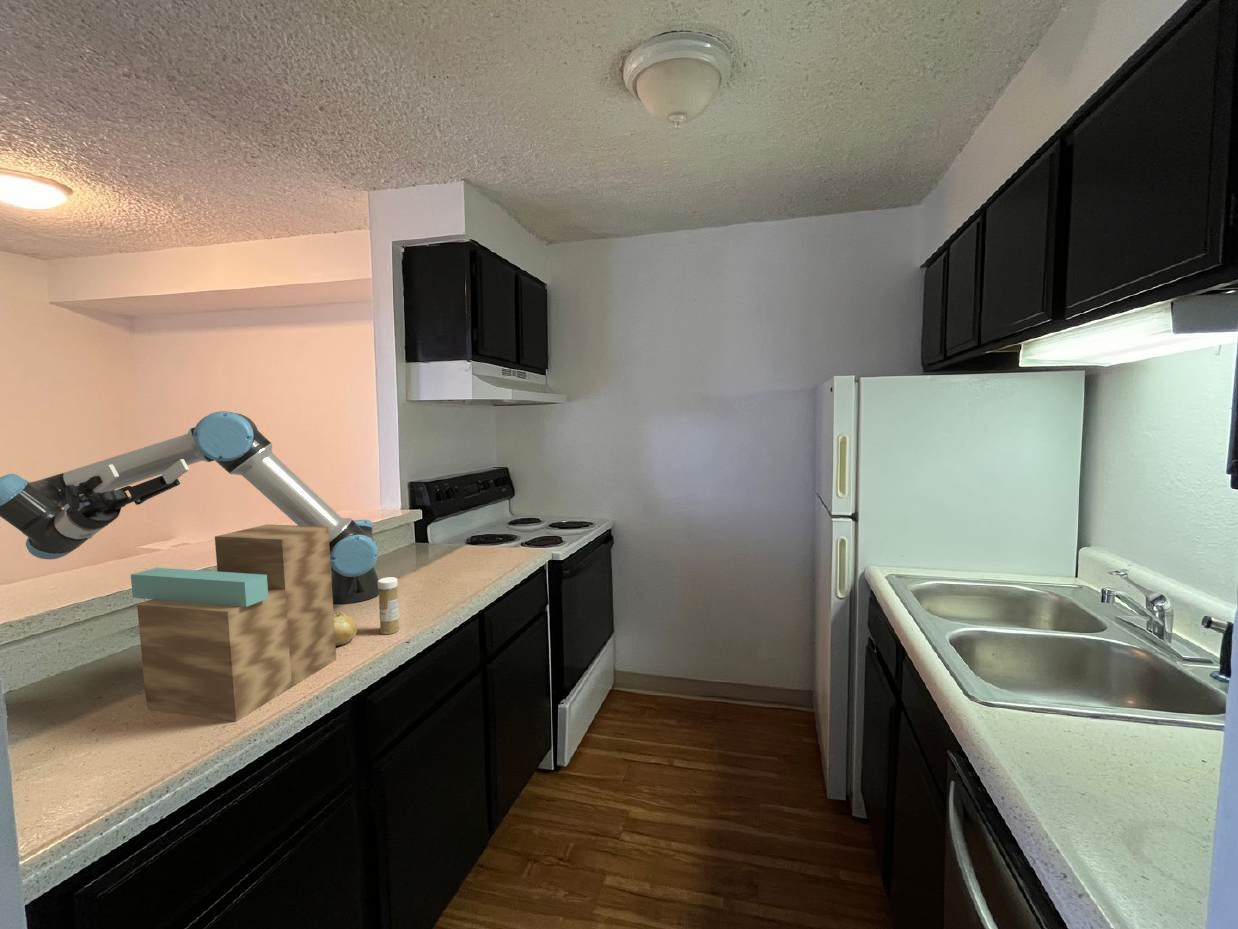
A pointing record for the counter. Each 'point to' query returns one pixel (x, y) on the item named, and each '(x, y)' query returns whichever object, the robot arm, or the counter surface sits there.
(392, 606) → the sprinkles bottle
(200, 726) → the counter surface
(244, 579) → the slim box
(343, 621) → the onion
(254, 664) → the wooden step block
